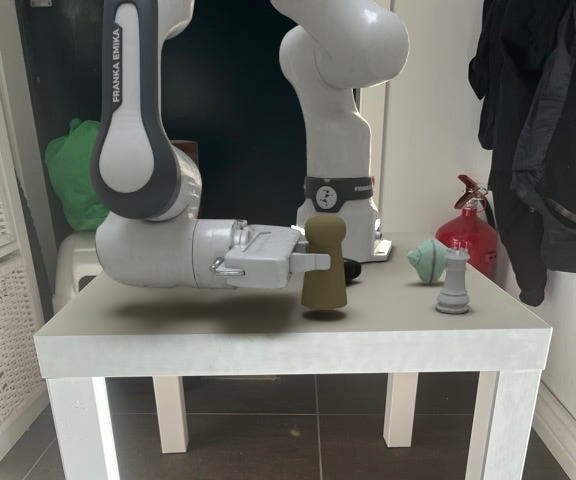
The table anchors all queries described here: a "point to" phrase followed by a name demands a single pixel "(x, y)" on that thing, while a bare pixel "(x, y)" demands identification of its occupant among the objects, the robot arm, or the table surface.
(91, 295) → the table surface
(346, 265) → the tape measure
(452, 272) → the rook chess piece
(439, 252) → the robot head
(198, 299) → the table surface
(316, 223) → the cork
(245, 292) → the table surface
